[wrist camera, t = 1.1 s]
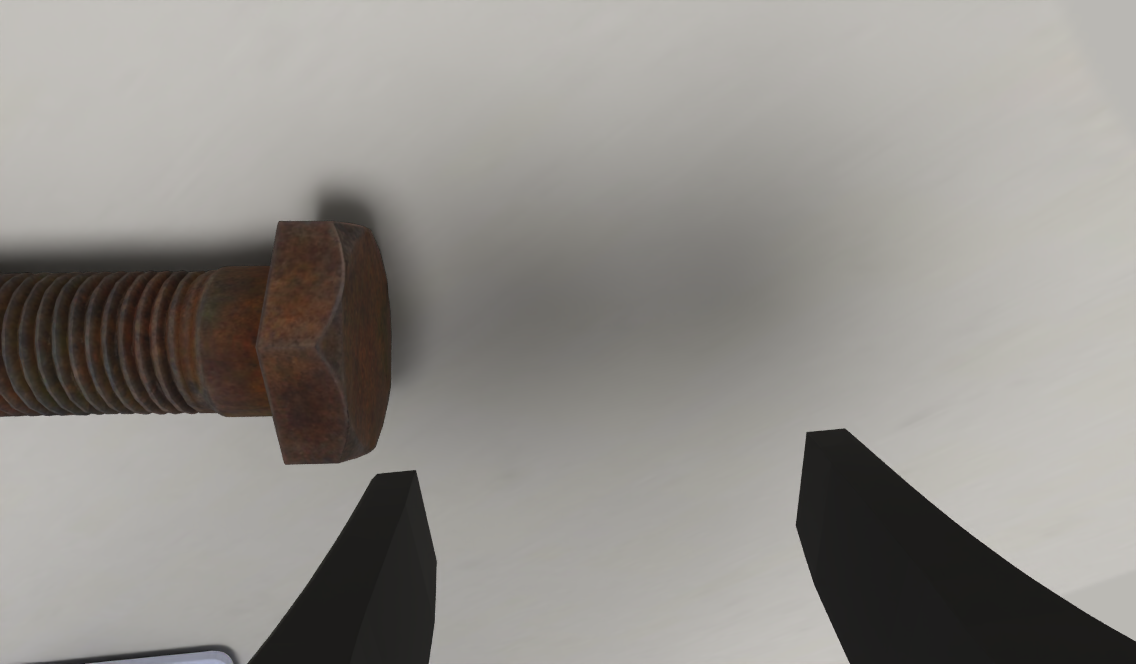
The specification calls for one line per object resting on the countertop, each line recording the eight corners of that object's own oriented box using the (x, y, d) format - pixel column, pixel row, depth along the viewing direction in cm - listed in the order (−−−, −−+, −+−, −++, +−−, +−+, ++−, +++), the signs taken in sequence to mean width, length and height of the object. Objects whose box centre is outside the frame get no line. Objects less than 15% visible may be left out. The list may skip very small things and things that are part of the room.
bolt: (-195, 245, 20) (394, 238, 21) (-186, 440, 20) (397, 430, 21) (-494, 220, 14) (333, 211, 15) (-478, 494, 15) (340, 478, 15)
